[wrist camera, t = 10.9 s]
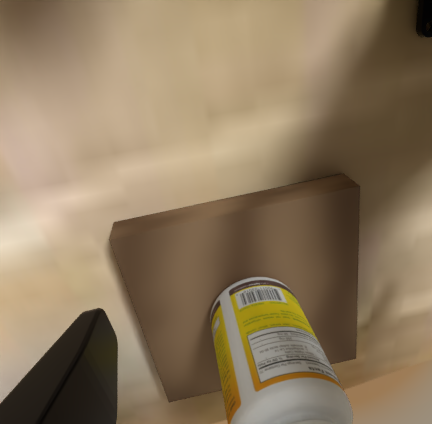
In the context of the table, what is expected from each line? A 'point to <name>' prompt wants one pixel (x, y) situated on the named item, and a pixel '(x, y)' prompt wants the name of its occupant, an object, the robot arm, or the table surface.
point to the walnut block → (241, 270)
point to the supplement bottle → (272, 359)
